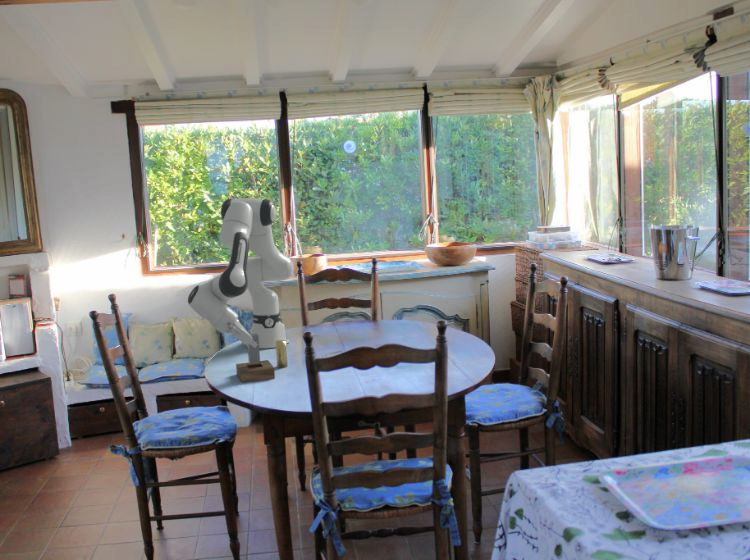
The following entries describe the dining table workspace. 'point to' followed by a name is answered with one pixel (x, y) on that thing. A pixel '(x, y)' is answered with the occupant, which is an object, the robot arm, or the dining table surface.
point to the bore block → (255, 371)
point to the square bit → (254, 350)
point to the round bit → (281, 353)
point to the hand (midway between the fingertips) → (255, 344)
